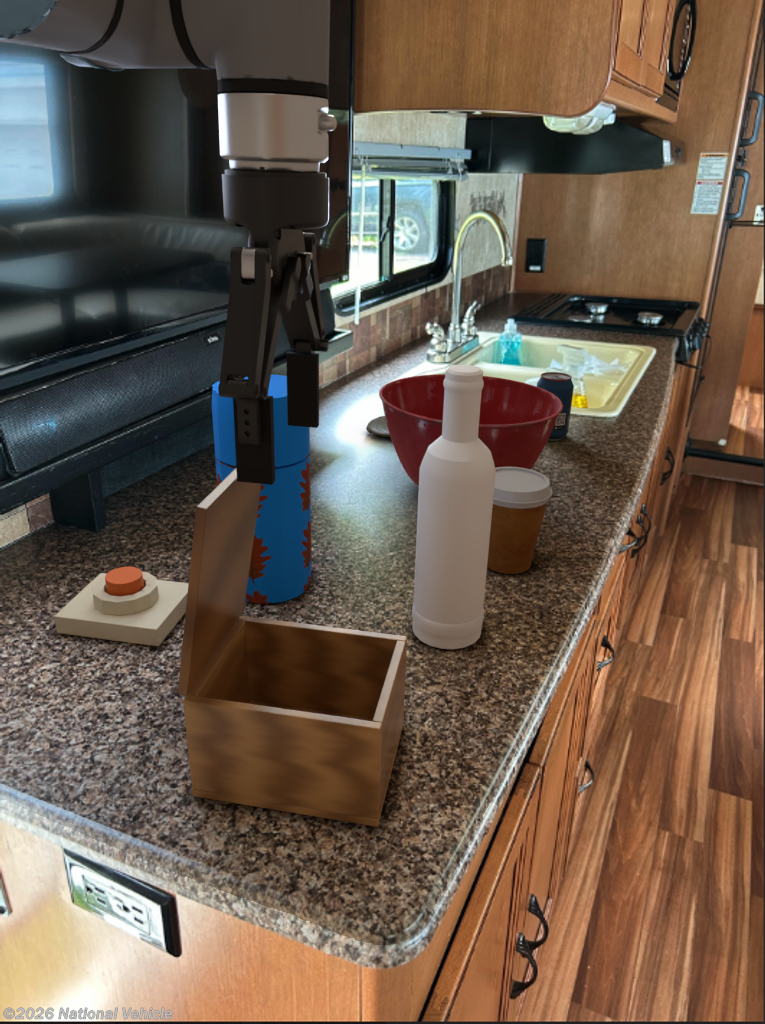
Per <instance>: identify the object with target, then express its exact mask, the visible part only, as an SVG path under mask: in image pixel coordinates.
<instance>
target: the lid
mask: <svg viewBox="0 0 765 1024" xmlns="http://www.w3.org/2000/svg"><path fill="white" fill-rule="evenodd" d="M365 429H366V431H367V433H369V434H372V435H374V436H378V437H385V438H391V437H390V434H389V430H388V427H387V423H386V419H385V415H380V416H378V417H374V418H373V419H371V420H370V421H369V422H368V423H367V425H366V428H365Z"/></svg>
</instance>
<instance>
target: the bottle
mask: <svg viewBox="0 0 765 1024" xmlns="http://www.w3.org/2000/svg"><path fill="white" fill-rule="evenodd" d="M444 374H445V379H444V381H443V385H444V388H445V391H444V408H443V425H442V435H441V436H440V437H439V438H438V439H437V440H435V441H434V442H433V443H432V444H431V445H429V447H428V449H427V451H426V453H425V455H424V458H423V460H422V463H421V466H420V471H419V486H418V496H417V516H416V517H417V518H416V536H415V537H416V539H415V560H414V580H413V581H414V583H413V601H412V602H413V604H412V606H411V619H412V623H411V628H412V632H413V635H414V636H415V637H416V638H417V639H418V640H419V641H420V642H422V643H424V644H426V645H428V646H430V647H433V648H437V649H441V650H459V649H465V648H467V647H469V646H471V645H474V644H475V643H476V642H477V641H478V640H479V639H480V638H481V634H482V628H483V623H484V616H485V608H484V607H485V606H484V605H485V594H486V585H487V584H486V583H487V572H488V567H487V562H488V551H489V540H490V529H491V518H492V507H493V496H494V485H495V473H496V470H495V465H494V461H493V458H492V454H491V451H490V450H489V449H488V447H487V446H486V445H485V444H484V443H483V442H482V441H481V440H480V439H479V438H478V429H479V417H480V404H481V391H482V388H483V386H484V382H483V379H482V378H483V376H484V371H483V370H482V369H481V368H480V367H479V366H476V365H470V364H454V365H450V366H448V367H447V368H446V369H445V373H444Z"/></svg>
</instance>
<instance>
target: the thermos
mask: <svg viewBox="0 0 765 1024" xmlns="http://www.w3.org/2000/svg"><path fill="white" fill-rule="evenodd" d="M244 379H248V377H245V378H244ZM219 383H220V380H218V381H216V382H215V383H213V384H212V393H211V414H212V431H213V444H214V445H213V446H214V456H215V459H214V460H215V472H216V487H217V486H218V485H219V484H220V483H221V482H222V481H223V480H224V479H225V478H226V477H227V476H228V475H229V474H230V473H231V472H232V471H233V470H234V469H235V468H236V450H235V430H234V409H233V398H230V397H221V396H220V395H219V392H218V386H219ZM267 396H273V412H274V450H275V482H274V483H273V485H268V484H261V490H260V497H259V504H258V511H257V519H256V526H255V533H254V540H253V547H252V554H251V561H250V569H249V576H248V583H247V590H246V597H245V602H246V603H252V604H267V605H268V604H271V605H272V604H275V603H276V604H277V603H282V602H283V603H284V602H287V601H289V600H292V599H295V598H297V597H299V596H300V595H302V594H303V593H305V592H306V591H307V589H308V588H309V586H310V584H311V576H312V557H313V555H312V506H311V505H312V504H311V503H312V499H311V498H312V495H311V490H312V489H311V454H310V453H311V438H310V437H311V436H310V435H311V434H310V428H311V427H301V426H289V425H288V414H287V375H280V374H271V378H270V384H269V389H268V395H267Z"/></svg>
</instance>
